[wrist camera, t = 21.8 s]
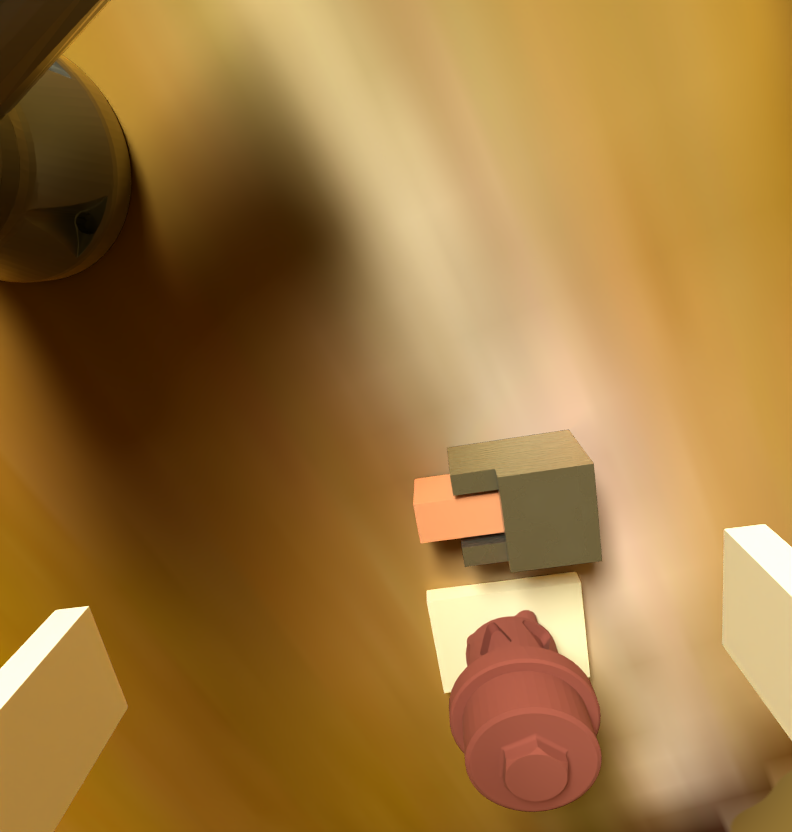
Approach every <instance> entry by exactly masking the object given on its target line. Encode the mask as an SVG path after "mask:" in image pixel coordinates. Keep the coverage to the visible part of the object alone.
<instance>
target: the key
mask: <svg viewBox="0 0 792 832" xmlns="http://www.w3.org/2000/svg"><path fill="white" fill-rule="evenodd" d="M413 506H414V511H415V517H416V522H417V527H418V533H419V538H420V543H427V542H434V541H442V540H449V539H457V538H464V537H472V536H479V535H487V534H494V533H501V532H504V529H503V522H502V515H501V508H500V501H499V493H498V490H491V491H484V492H477V493H470V494H463V495H456V496H453V491H452V485H451V479H450V474H446V475H439V476H432V477H425V478H418V479H414V501H413Z"/></svg>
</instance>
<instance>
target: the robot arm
mask: <svg viewBox="0 0 792 832" xmlns="http://www.w3.org/2000/svg"><path fill="white" fill-rule="evenodd" d="M110 1H111V0H0V280H2V281H8V282H19V283H29V282H40V281H48V280H56V279H61V278H65V277H68V276H71V275H74V274H77V273H79V272H81V271H83V270H85V269H87V268H88V267H90V266H91V265H93V264H94V263H95V262H96V261H98V260H99V259H100V258H101V257H102V256H103V255H104V254H105V253H106V252H107V251H108V250H109V248H110V247H111V246H112V244H113V243H114V241H115V240H116V238H117V237H118V235H119V233H120V231H121V229H122V226H123V224H124V221H125V218H126V215H127V212H128V208H129V202H130V196H131V167H130V159H129V154H128V149H127V145H126V141H125V138H124V135H123V132H122V130H121V127H120V125H119V122H118V120H117V118H116V116H115V114H114V112H113V110H112V108H111V107H110V105H109V103H108V102H107V100H106V99H105V97H104V96H103V94H102V93H101V91H100V90H99V89H98V87H97V86H96V85H95V84H94V83H93V81H92V80H91V79H90V78H89V77H88V76H87V75H86V74H85V73H84V72H83V71H82V70H81V69H80V68H79V67H78V66H76V65H75V64H74V63H73V62H71V61H70V60H69V59H67V58H66V57H65V56H63V55H62V54H63V53H64V52H65V50H66V49H67V48H68V47H69V46H70V45H71V44H72V43H73V42H74V40H75V39H76V38H77V37H78V36H79V35H80V34H81V33H82V32H83V31H84V29H85V28H86V27H87V26H88V25H89V24H90V23H91V22H92V21H93V19H94V18H95V17H96V16H97V15H98V14H99V13H100V12H101V11H102V9H103V8H104V7H105V6H106V5H107V4H108V3H109V2H110ZM722 645H723V647H724V648H725V649H726V651H727V652H728V653H729V655H730V656H731V658H732V659H733V660H734V662H735V663H736V664H737V666H738V667H739V669H740V670H741V671H742V673H743V674H744V676H745V677H746V678H747V680H748V681H749V682H750V684H751V685H752V687H753V688H754V689H755V691H756V692H757V693H758V695H759V696H760V698H761V699H762V700H763V702H764V703H765V705H766V706H767V707H768V709H769V710H770V711H771V713H772V714H773V716H774V717H775V718H776V720H777V721H778V722H779V724H780V725H781V727H782V728H783V729H784V731H785V732H786V734H787V735H788V736H789V738H790V739H791V740H792V547H791V546H790V545H789V544H787V543H786V542H785V541H784V540H783V539H782V538H780V537H779V536H778V535H777V534H776V533H775V532H773V531H772V530H771V529H770V528H769V527H768V526H767V525H765V524H762V525H753V526H745V527H737V528H729V529H724V560H723V622H722ZM127 708H128V705H127V703H126V700H125V697H124V695H123V692H122V690H121V687H120V685H119V682H118V679H117V677H116V674H115V672H114V669H113V667H112V664H111V661H110V659H109V656H108V654H107V651H106V649H105V646H104V643H103V641H102V638H101V636H100V633H99V630H98V628H97V625H96V623H95V620H94V618H93V615H92V612H91V610H90V607H89V606H85V607H77V608H69V609H61V610H55V611H54V612H53V613H52V614H51V615H50V616H49V618H48V619H47V620H46V621H45V622H44V623H43V624H42V625H41V626H40V627H39V628H38V629H37V630H36V631H35V633H34V634H33V635H32V636H31V637H30V638H29V639H28V640H27V641H26V642H25V643H24V644H23V645H22V646H21V647H20V649H19V650H18V651H17V652H16V653H15V654H14V655H13V656H12V657H11V658H10V659H9V660H8V661H7V662H6V663H5V665H4V666H3V667H2V668H1V669H0V832H54V830H55V829H56V827H57V825H58V824H59V822H60V820H61V819H62V817H63V815H64V813H65V812H66V810H67V808H68V807H69V805H70V803H71V802H72V800H73V798H74V797H75V795H76V793H77V792H78V790H79V788H80V787H81V785H82V783H83V782H84V780H85V778H86V777H87V775H88V773H89V772H90V770H91V768H92V767H93V765H94V763H95V762H96V760H97V758H98V757H99V755H100V753H101V752H102V750H103V748H104V747H105V745H106V743H107V742H108V740H109V738H110V737H111V735H112V733H113V732H114V730H115V728H116V727H117V725H118V723H119V722H120V720H121V718H122V717H123V715H124V713H125V712H126V710H127Z"/></svg>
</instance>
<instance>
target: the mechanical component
mask: <svg viewBox="0 0 792 832" xmlns="http://www.w3.org/2000/svg"><path fill="white" fill-rule="evenodd" d="M466 662H467V667H466V668H465V670H464V671H463V672H462V673H461V674H460V675H459V677H458V678H457V680H456V681H455V683H454V686H453V688H452V690H451V694H450V699H449V715H450V727H451V732H452V735H453V737H454V740H455V742H456V743H457V745H458V746H459V748H460V749H461V750H462V752H463V753H464V754H465V765H466V770H467V774H468V776H469V778H470V780H471V782H472V784H473V785H474V787H475V788H476V789H477V790H478V791H479V792H480V793H481V794H482V795H483V796H485V797H486V798H487V799H489V800H491V801H492V802H494V803H496V804H498V805H501V806H503V807H506V808H509V809H513V810H518V811H528V812H537V811H547V810H551V809H556V808H559V807H562V806H565V805H567V804H569V803H571V802H573V801H575V800H576V799H578V798H579V797H581V796H582V795H583V794H584V793H585V792H586V791H588V790H589V788H590V787H591V786H592V785H593V783H594V782H595V780H596V778H597V776H598V774H599V771H600V768H601V760H602V757H601V750H600V746H599V743H598V740H597V737H596V736H597V733H598V730H599V726H600V716H601V715H600V707H599V704H598V701H597V698H596V695H595V692H594V690H593V687H592V685H591V682H590V680H589V679H588V677H587V676H586V674H585V673H584V672H583V671H582V669H581V668H580V667H579V666H578V665H576V664H575V663H574V662H573V661H571V660H570V659H568V658H567V657H565V656H563V655H561V654H559V653H558V650H557V647H556V644H555V641H554V639H553V637H552V636H551V634H550V633H549V631H548V630H546V629H545V628H544V627H543V626H542V625H540V624H539V623H538V621H537V617H536V615H535V613H533V612H532V611H530V610H523V611H520V612H519V613H518V614H517V615H516V616H507V617H501V618H497V619H494V620H491V621H489V622H487V623H485V624H483V625H482V626H481V627H479V628H478V629H477V630H476V631H475V632H474V633H473V634H471V635H470V636H469V637H468V638H467V648H466Z"/></svg>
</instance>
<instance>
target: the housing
mask: <svg viewBox="0 0 792 832" xmlns="http://www.w3.org/2000/svg"><path fill="white" fill-rule="evenodd" d="M447 452H448V462H449V472H450V479H451V485H452V491H453V496H456V495H463V494H470V493H477V492H484V491H491V490H498V493H499V501H500V508H501V515H502V522H503V529H504V532H501V533H494V534H487V535H479V536H472V537H464V538H461V545H462V552H463V558H464V564H465V567H467V566H475V565H483V564H491V563H498V562H506V561H508V563H509V567H510V571H511V572H519V571H527V570H535V569H543V568H551V567H558V566H566V565H574V564H582V563H590V562H598V561H602V555H601V543H600V532H599V520H598V508H597V496H596V485H595V473H594V463H593V462H592V461H591V459H590V458H589V457H588V455H587V454H586V452H585V451H584V450H583V448H582V447H581V446H580V444H579V443H578V442H577V440H576V439H575V437H574V436H573V435H572V433H571V432H570V431H569V430H562V431H555V432H549V433H542V434H536V435H529V436H522V437H516V438H509V439H502V440H496V441H489V442H482V443H476V444H469V445H462V446H456V447H449V448H447Z"/></svg>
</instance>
